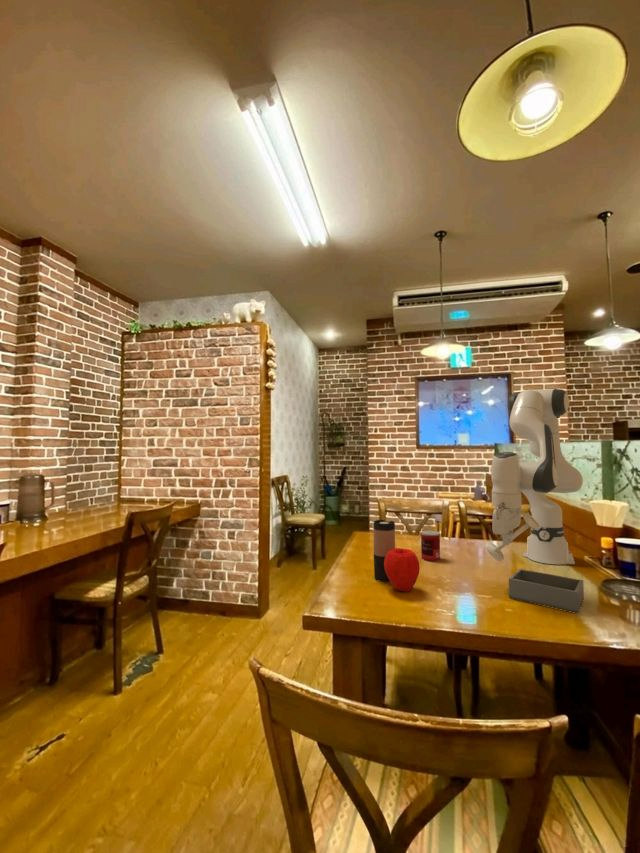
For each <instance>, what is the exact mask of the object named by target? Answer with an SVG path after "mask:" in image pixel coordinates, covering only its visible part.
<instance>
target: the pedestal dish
mask: <svg viewBox="0 0 640 853" xmlns="http://www.w3.org/2000/svg"><path fill="white" fill-rule="evenodd" d="M522 518H523V520H524V521H525V523H524V524H523V525H522V526H519V528H518V529H516V530H515V531H513V534H511V535H510V536H509V539H510V542H511V541H512V542H513V540H514V539H516V538H518V537H519V535H521V534H522V533H523V532H525V531H526V530H527V529H529V528H531V527H532V528H533V529H534V530H536V531H538V530H539V529H540V528H541V527H540V525H539V523H538V522H537V521H536V520H535V519H534V518H533V517H532V515H530V514H529V513H524V514H523V515H522ZM506 546H507V545H503V541H501V542H500V543H499V544H498V545H496V544H495V543H494V542H491V541H486V542H485V543H484V547H485V549H486V551H487V552H488V554H489V555H490V557H492V558H493V559H494V560H496V561H498V562H502V561H503V560H504V559H505V555H504V554H503V552H502V551H501V550H503V549H504V548H505V547H506Z"/></svg>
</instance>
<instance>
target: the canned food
mask: <svg viewBox="0 0 640 853" xmlns="http://www.w3.org/2000/svg"><path fill="white" fill-rule="evenodd" d="M420 554H421V559H422V560H423V559H424V560H423V561H425V560H426V561H425V562H439V561H440V559H441V535H440V532H439V531H436V530H422V531H420ZM438 560H439V561H438Z"/></svg>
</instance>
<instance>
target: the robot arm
mask: <svg viewBox="0 0 640 853" xmlns="http://www.w3.org/2000/svg"><path fill="white" fill-rule="evenodd" d="M506 407H507V411H508V413H509V415H510V416H509V427H510V429H511V431H512V432H513V433H514V434H515V435H517V437H519V438H521V439H523V440H527V441H529V442H528V444H529V451H530V452H531V454H532V455H534V456H536V457H538V458H539V460H538V461H533V462H532V461H529V462H528V461H520V459H519V455H518V453H515V452H511V451H505V452H504V451H503V452H498V453H495V454H493V456H492V460H491V469H490V470H491V471H490V473H491V475H490V476H491V482H492V489H491V506H492V507H494V508H495V509H493V511H492V521H491V522H492V524H491V526H492V527H491V528H492V533H493V534H494V535H500V536H501V538H502V542H503V545H506V546H509V545H510V544H512V543H513V540H512V541H511V542H510V539H509V536H510V535H511V534H513V533H514V529H516V528H518V527H520V525H521V521H522V506H523V504H524V499H523V498H522V493H523V495H525V498H526V499H527V501H528V502H529V505H530V511H531V512H530V513H531V516H532V517H533V518H534V519H535V520H536V521H537V522H538V523H539V525H540V527H541V528H540V529H539V530H538V531H536V530H534V529H533V528H532V527H530V535H529V536H527V539H526V541H527V542H526V543H527V545H526V552H523V554H522V556H523V557H524V558H528V559H529V560H532V561H534V562H537V563H540V564H541V563H542V564H547V565H549V564H550V565H557V566H558V565H576V563H575V558H574V556H573V553H571V551H570V550H569V542H567V540H566V538H565V528H564V526H563V510H562V507H561V505H560V504H558V503H557V502H555V501H553V500H551V499H549V498H548V497H547V496H546V495H545V494H549V493H555V494H556V493H557V494H568V493H569V494H571V493H577V492H579V490H580V489H581V488H582V486H583V483H584V479H583V475H582V474H581V472H580V471H579V470H578V468H575V467H574V466H573V465H571V464H570V463H569V462H568V461H567V460H566V458H565V457H564V454H563V453H562V448H561V441H560V440H561V439H560V427H559V426H560V425H559V418H561V416H563V415H565V414H566V413H567V412H568V410H569V408H570V398H569V396H568V393H567V392H566V391H565V390H564V389H559V388H553V389H536V390H534V389H526V390H525V389H524V390H522V391H521V392H520V391H519V392H518V391H517V392H514V393H512V394H511V395H510V396H509V397H508V399H507V406H506Z"/></svg>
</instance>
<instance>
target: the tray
mask: <svg viewBox="0 0 640 853" xmlns="http://www.w3.org/2000/svg"><path fill="white" fill-rule="evenodd" d="M584 591H585V589H584V580H583V579H577V578H571V577H566V576H562V575H561V576H560V575H556V574H549V573H545V572H539V571H535V570H528V569H522V568H518V569H517V570H516V571H515V572H514V573H513V574H512V575H511V576H510V577H509V578H508V599H510V598H511V599H510V600H515V599H516V601H519V600H522V601H521V602H523V601H526V602H525V603H528V602H531V603H530V604H532V603H536V604H540V605H539V606H541V605H545V606H549V607H553V608H552V609H554V608H557V609H556V610H558V609H562V610H566V611H565V612H567V611H571V612H575V613H578V612H579V613H580V611H579V609H580V610H581V608H582V606H581V605H583V604H582V602H583V603H584V601H585V596H584V595H585V593H584ZM583 600H584V601H583ZM536 604H535V605H536ZM545 606H544V607H545ZM549 607H548V608H549ZM580 607H581V608H580ZM562 610H561V611H562ZM571 612H570V613H571ZM575 613H574V614H575ZM579 613H578V614H579Z"/></svg>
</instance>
